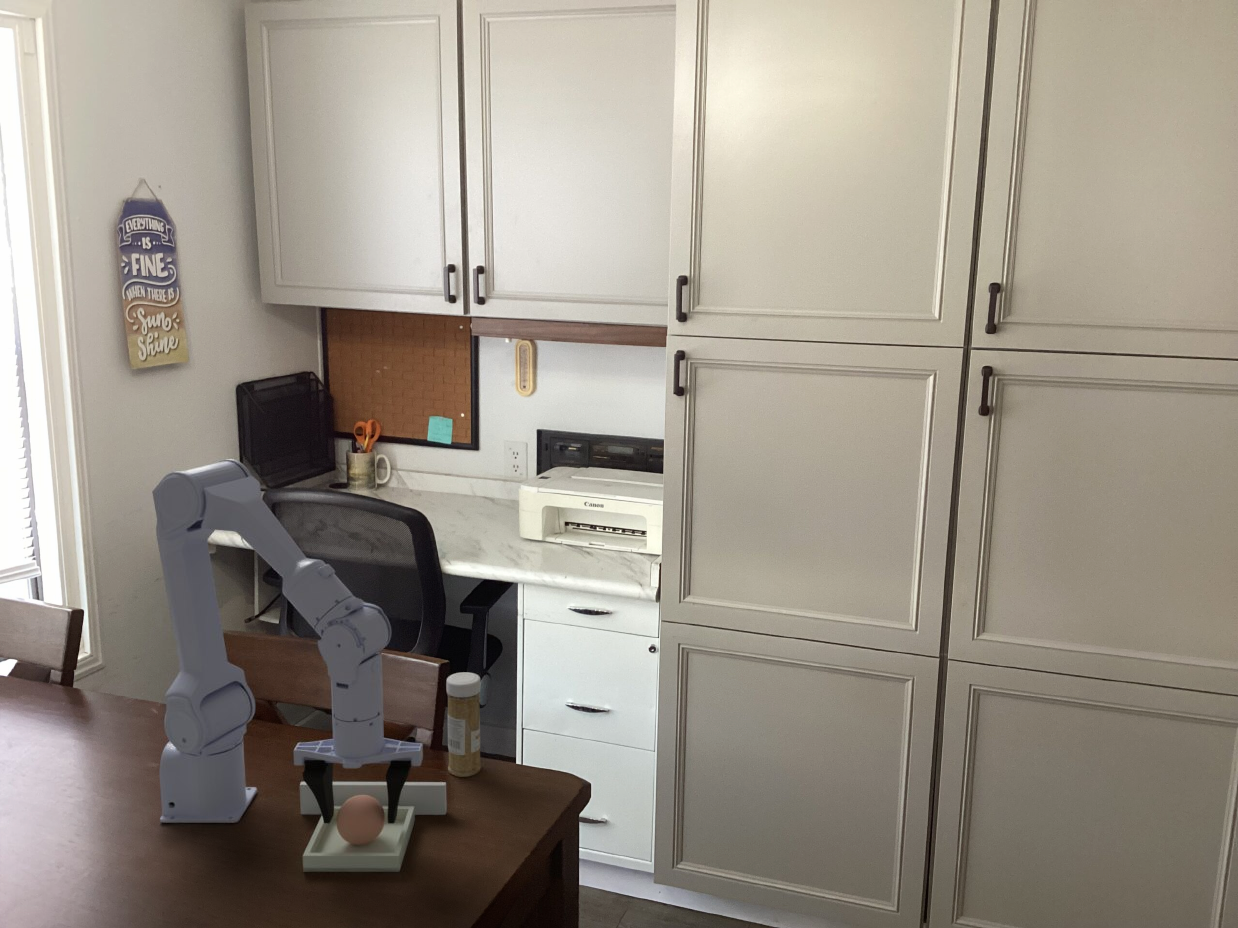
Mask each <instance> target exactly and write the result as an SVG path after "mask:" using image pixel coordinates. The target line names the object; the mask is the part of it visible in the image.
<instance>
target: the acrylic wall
mask: <svg viewBox="0 0 1238 928" xmlns="http://www.w3.org/2000/svg"><path fill="white" fill-rule="evenodd" d="M299 783H300V784H299V803H300V807H299V808H300V815H322V813H321V810H320V807H319V805H318V802H317V800H316V798H315V796H314V794H313V792H312V791H311V789H310V788H309V786H308V785H307V784H306V783H305V781H300V782H299ZM357 795H368V796H371V797H373V798H375V799H376V800H378V801H379V802H380V803H381V805H382V806H388V791H387V783H386V781H333V798H334V806H342V805H343V804H344V803H345V802H346V801H347V800H348V799H350V798H351V797H354V796H357ZM398 806H415V816H417V815H419V816H420V815H421V816H424V815H427V816H428V815H433V816H438V815H439V816H441V815H442V816H444V815H445V816H446V814H447V782H443V781H440V782H439V781H438V782H437V781H436V782H435V781H434V782H433V781H420V782H419V781H406V782H405V784H404V786H403V788H402V791H401V794H400V798H399V803H398Z"/></svg>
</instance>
